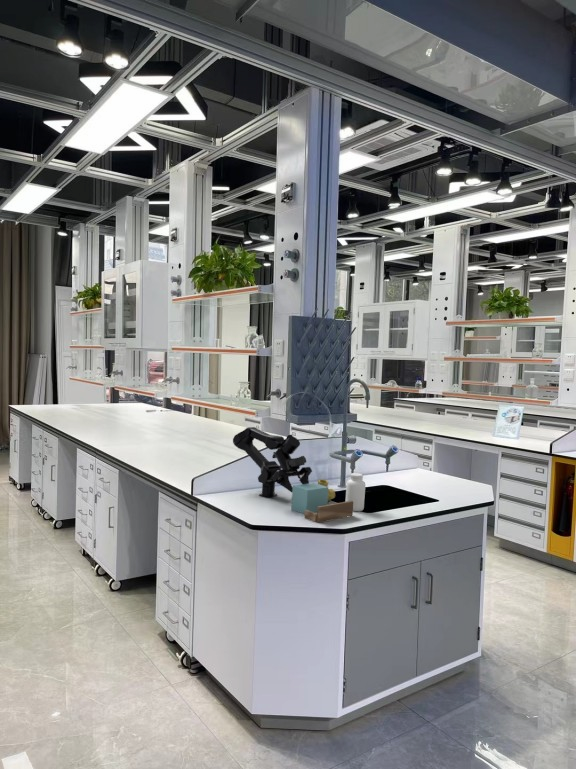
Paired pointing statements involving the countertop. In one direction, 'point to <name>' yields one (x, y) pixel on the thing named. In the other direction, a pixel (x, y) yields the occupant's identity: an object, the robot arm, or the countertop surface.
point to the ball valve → (330, 491)
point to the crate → (309, 497)
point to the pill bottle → (356, 491)
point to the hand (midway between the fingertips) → (300, 490)
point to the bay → (330, 512)
